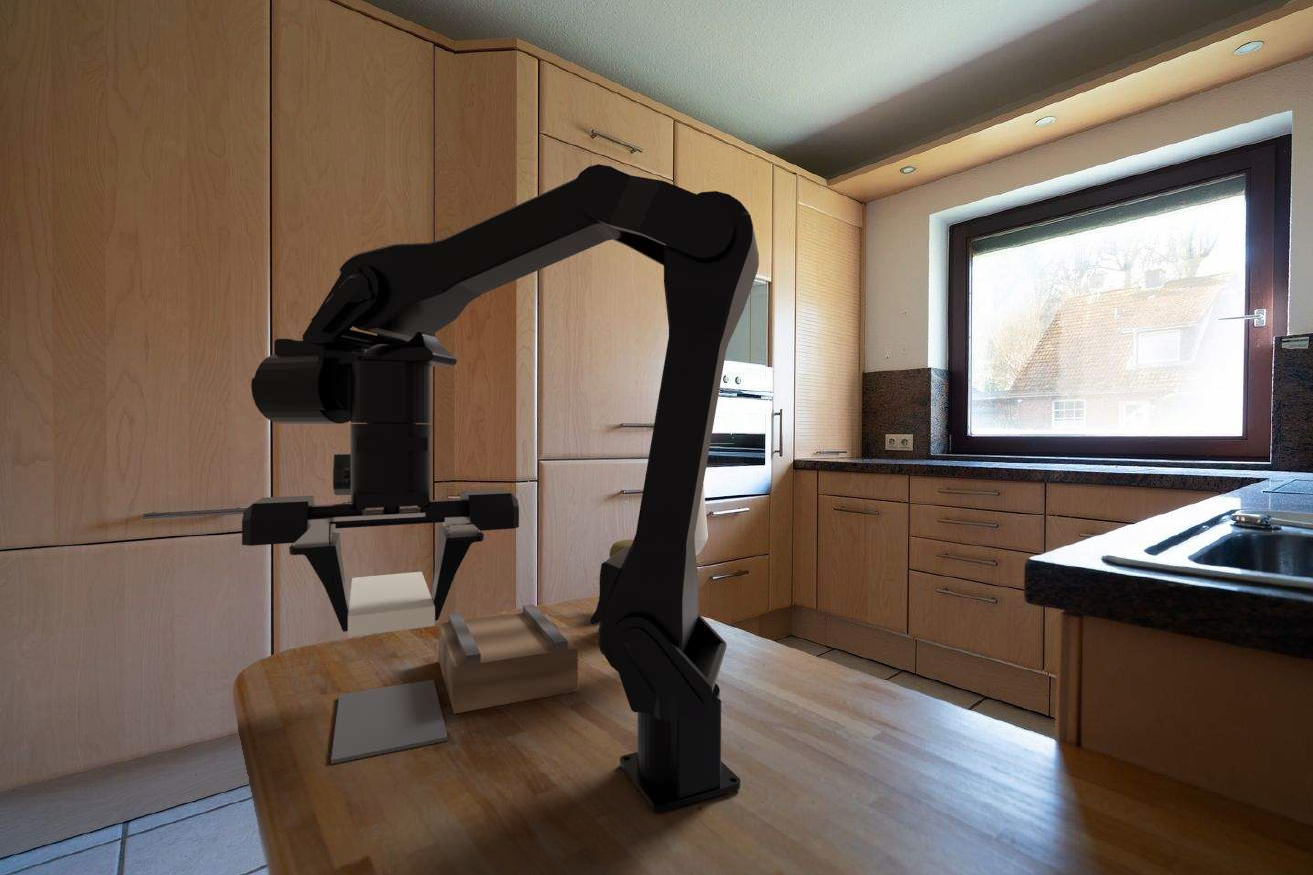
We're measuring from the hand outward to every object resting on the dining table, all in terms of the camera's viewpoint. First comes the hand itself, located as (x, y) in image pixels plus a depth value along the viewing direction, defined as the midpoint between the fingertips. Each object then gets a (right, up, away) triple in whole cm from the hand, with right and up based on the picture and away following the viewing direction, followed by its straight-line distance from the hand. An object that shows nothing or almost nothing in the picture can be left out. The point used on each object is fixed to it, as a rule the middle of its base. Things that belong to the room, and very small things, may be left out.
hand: (391, 624), depth 47 cm
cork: (+18, -9, +26) cm, 33 cm away
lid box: (+6, -9, +13) cm, 16 cm away
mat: (-2, -9, +4) cm, 10 cm away
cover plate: (-2, 0, +4) cm, 5 cm away
